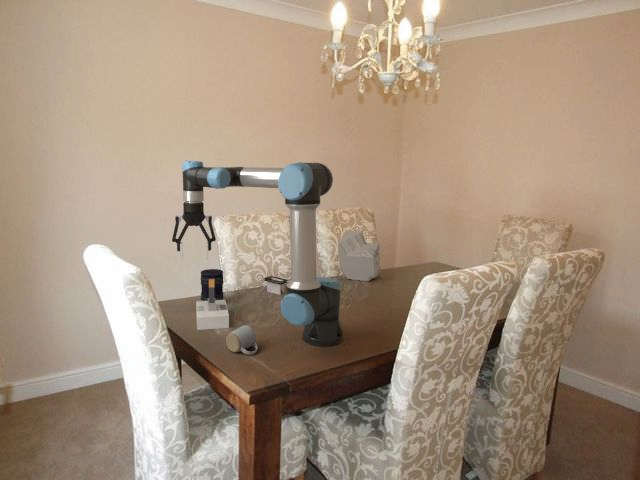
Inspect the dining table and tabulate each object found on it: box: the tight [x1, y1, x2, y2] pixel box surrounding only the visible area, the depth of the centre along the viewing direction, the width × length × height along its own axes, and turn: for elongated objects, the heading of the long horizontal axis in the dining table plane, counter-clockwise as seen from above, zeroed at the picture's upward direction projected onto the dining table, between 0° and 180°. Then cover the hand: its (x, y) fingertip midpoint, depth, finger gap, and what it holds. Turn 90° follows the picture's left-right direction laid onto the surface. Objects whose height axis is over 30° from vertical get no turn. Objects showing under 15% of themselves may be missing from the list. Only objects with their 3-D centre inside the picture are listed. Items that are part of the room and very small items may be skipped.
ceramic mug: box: [225, 324, 259, 356], centre depth 160 cm, size 11×8×8 cm
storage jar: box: [200, 268, 224, 301], centre depth 206 cm, size 10×10×15 cm
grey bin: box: [263, 272, 289, 296], centre depth 227 cm, size 20×25×10 cm
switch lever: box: [209, 279, 214, 303], centre depth 186 cm, size 4×2×12 cm, turn 15°
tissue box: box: [337, 230, 382, 282], centre depth 256 cm, size 20×16×25 cm
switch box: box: [195, 298, 230, 331], centre depth 188 cm, size 20×12×8 cm, turn 15°
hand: (194, 259), depth 182 cm, fingers open, 9 cm apart
